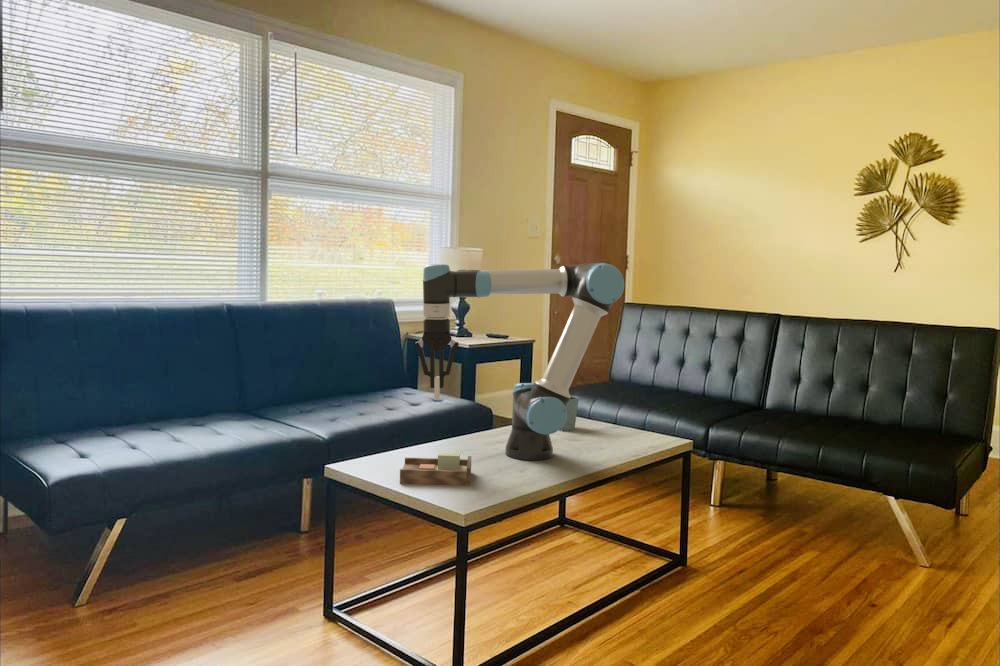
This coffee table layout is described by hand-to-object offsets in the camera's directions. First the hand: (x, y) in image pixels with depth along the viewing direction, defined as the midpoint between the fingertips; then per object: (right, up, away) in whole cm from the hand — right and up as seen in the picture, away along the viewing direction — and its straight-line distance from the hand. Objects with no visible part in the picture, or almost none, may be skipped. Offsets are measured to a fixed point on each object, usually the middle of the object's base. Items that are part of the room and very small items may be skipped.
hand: (437, 398), depth 224 cm
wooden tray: (+1, -22, -9) cm, 23 cm away
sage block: (+4, -19, -6) cm, 20 cm away
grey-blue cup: (+42, -16, +62) cm, 77 cm away
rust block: (-2, -22, -11) cm, 24 cm away
